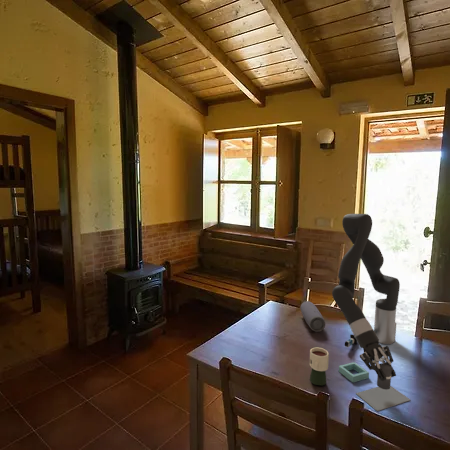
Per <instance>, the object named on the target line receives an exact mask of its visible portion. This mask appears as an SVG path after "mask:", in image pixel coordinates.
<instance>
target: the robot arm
mask: <svg viewBox="0 0 450 450" xmlns="http://www.w3.org/2000/svg"><path fill="white" fill-rule="evenodd" d="M372 219H373V218H372V217H371V216H370V215H369V214H367V213H348V214H345V215H344V216H343V218H342V228H343V230H344V232H345V234H346V235H347V238H349V240H350V241H351V243H352V244H353V245H352V246H351V247H350V248H349V249H348V251H347V252H346V253H345V254H344V256H343V257H342V259H341V261H340V264H339V265H340V266H339V268H338V269H339V270H338V273H337V274H338V275H337V277H338V285H336V286H334V287H333V289H332V292H331V293H332V298H333V300H334V302H335V304H336V305H337V307H338V308H339V310H340V311H341V312H342V313H343V315H344V318H345V320H346V322H347V324H348V325H349V328H350V329H351V333H352V335H354V336H355V338H356V340H357V344H358V345H359V347H360V348H361V349H363V353H361V354H359V358H360V359H361V360H362V362H363V363H364V364H365V365H366V367H367V369H368V370H370V371H374V372H375V374H376V375H377V377H379V379H380V380H381V381H383V380H386V376H385V375H384V373H383V371H382V369H380V365H379V364H380V363H383V364H387V365H389V366H391V368H392V371H391V378H394V377H396V376H397V375H396V371H395V370H394V367H393V366H392V364H393V362H394V358H393V356H392V355H393V354H392V353H391V350H390V348H389V347H390V346H389V345H391V344H393V343H395V342H396V335H397V333H396V332H397V322H396V314H397V306H398V302H399V294H400V286H401V284H400V280H399V279H398V278H396V277H393V276H389V275H385V274H383V273H382V271H381V268H382V267H383V264H384V262H385V261H384V255H383V254H382V251H381V249H380V248H379V246H378V245H377V244H375V243H374V242H373V241H372V240H371V239H369V237H370V235H371V232H372V229H373V228H372V227H373V220H372ZM360 260H361V262H362V264H363V265H364V267H365V269H366V272H367V273H368V275H369V276H368V277H369V279H370V282H371V285H372V288H373V290H374V291H376V292H377V293H379V294H381V295H382V294H383V295H386V298H379V299H377V300H376V301H375V311H374V326H372V325H371V324H370V322H369V320H368V319H367V318H366V316H365V314H364V312H363V311H362V309H361V308H360V307H359V306H358V305H357V303H356V302H355V300H354V295H355V285H356V283H355V282H356V278H357V274H358V269H359V264H360ZM381 344H384V345H385V346H383V345H381ZM379 362H380V363H379Z"/></svg>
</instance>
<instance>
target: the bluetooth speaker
mask: <svg viewBox="0 0 450 450" xmlns="http://www.w3.org/2000/svg"><path fill="white" fill-rule="evenodd" d="M299 310H300V311H301V314H302V316H303V319H304V320H305V323H306V324H307V325H308V326H309V328H310V329H311V330H312V331H313V332H318V333H319V332H322V331H323V330H324V329H325V328H326V321H325V318H324V316H323V315H322V314H321V312H320V311H319V308H317V306H316V305H315V303H313V302H311V301H309V300H307V301H306V300H305V301H303V302H302V303H301V305H300V307H299Z"/></svg>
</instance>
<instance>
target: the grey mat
mask: <svg viewBox="0 0 450 450" xmlns="http://www.w3.org/2000/svg"><path fill="white" fill-rule="evenodd" d="M355 395H357V396H358V397H359V398H360V399H362V400H363V401H364V402H365V403H366V404H367V405H369V406H370V407H371V409H374V410H375V411H376V412H380V411H383V410H386V409H388V408H391V407H395V406H397V405H400V404H404V403H407V402H410V401H411V398H409V397H407V396H406V395H405V394H403V393H402V392H401V391H399V390H397V389H396V388H395V387H393V386H392V385H390V389H387V390H386V389H382V388H380V387H378V386H377V387H372V388H368V389H366V390H363V391H359V392H356V393H355Z"/></svg>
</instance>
